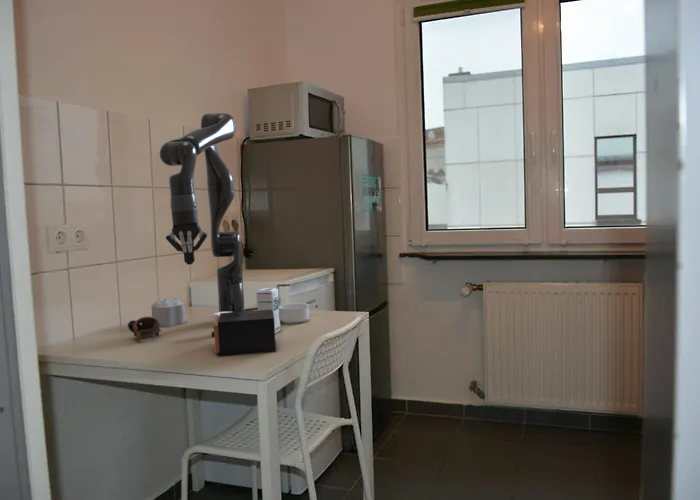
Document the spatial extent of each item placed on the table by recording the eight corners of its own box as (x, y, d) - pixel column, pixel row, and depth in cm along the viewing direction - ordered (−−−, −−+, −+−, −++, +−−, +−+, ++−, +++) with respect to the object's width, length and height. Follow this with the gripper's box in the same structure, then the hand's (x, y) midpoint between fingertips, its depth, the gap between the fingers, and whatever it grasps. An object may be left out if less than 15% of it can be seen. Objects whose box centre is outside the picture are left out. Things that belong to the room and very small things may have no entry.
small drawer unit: (219, 356, 158) (217, 322, 158) (222, 344, 172) (220, 313, 171) (275, 351, 161) (274, 318, 160) (273, 340, 175) (272, 309, 174)
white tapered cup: (238, 331, 188) (237, 311, 188) (226, 336, 182) (225, 315, 182) (222, 330, 191) (221, 310, 191) (209, 335, 185) (208, 314, 184)
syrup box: (275, 334, 183) (273, 290, 182) (258, 334, 184) (256, 290, 183) (280, 330, 188) (278, 287, 187) (264, 330, 190) (262, 287, 189)
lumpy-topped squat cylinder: (162, 327, 200) (160, 303, 200) (146, 323, 210) (145, 300, 209) (188, 322, 207) (187, 299, 207) (172, 318, 217) (171, 296, 216)
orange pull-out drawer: (211, 353, 158) (209, 325, 158) (214, 342, 171) (212, 317, 170) (267, 348, 161) (265, 321, 160) (266, 338, 174) (264, 313, 173)
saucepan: (328, 314, 212) (327, 300, 211) (298, 325, 195) (297, 309, 194) (303, 312, 218) (302, 298, 217) (271, 323, 200) (271, 307, 200)
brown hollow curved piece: (168, 336, 188) (166, 317, 183) (152, 355, 180) (149, 336, 176) (136, 327, 190) (133, 308, 186) (119, 345, 183) (116, 326, 178)
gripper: (208, 206, 174) (213, 260, 177) (165, 208, 173) (171, 262, 176) (203, 208, 166) (209, 265, 169) (158, 211, 166) (165, 267, 169)
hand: (189, 264), depth 173 cm, fingers closed
